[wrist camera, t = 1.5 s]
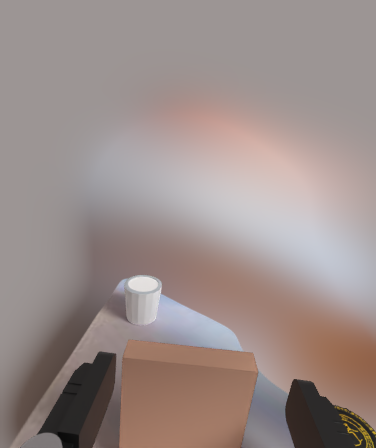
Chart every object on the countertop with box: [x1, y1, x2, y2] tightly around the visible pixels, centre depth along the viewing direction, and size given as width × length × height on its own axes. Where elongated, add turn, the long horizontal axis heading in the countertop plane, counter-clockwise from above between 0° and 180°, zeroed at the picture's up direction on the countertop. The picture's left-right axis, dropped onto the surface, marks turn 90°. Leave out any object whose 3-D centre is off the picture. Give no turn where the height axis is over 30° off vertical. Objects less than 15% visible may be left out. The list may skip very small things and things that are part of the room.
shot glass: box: [124, 275, 162, 325], centre depth 50 cm, size 7×7×7 cm
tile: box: [119, 340, 258, 448], centre depth 26 cm, size 2×12×14 cm, turn 88°
